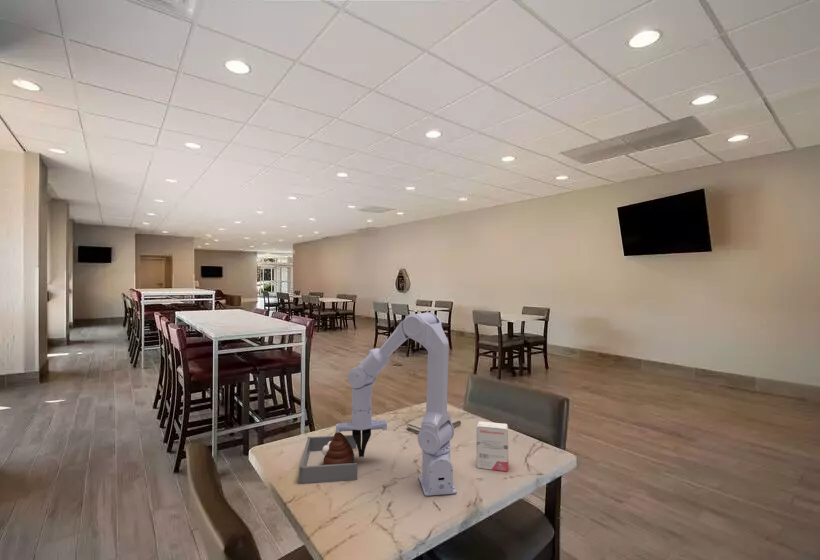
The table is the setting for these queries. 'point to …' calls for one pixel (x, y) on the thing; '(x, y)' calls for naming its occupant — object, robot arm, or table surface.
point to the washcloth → (416, 425)
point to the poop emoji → (338, 451)
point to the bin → (325, 471)
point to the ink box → (492, 446)
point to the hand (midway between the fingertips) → (361, 455)
